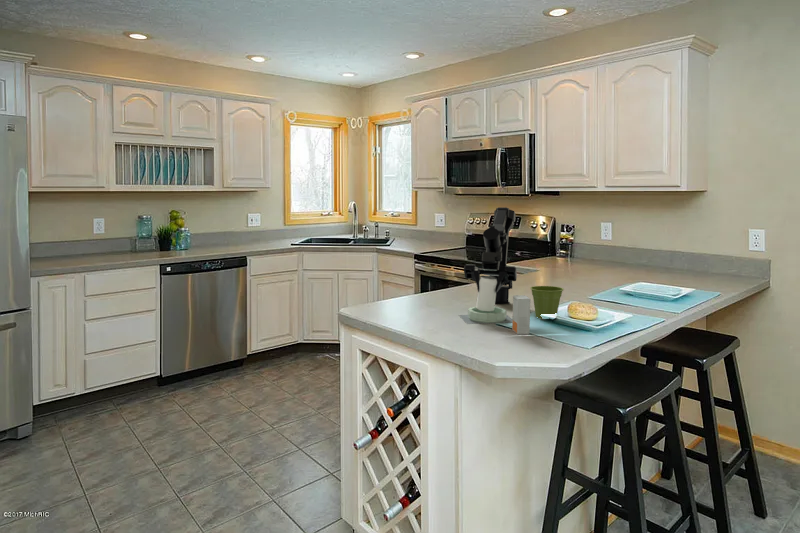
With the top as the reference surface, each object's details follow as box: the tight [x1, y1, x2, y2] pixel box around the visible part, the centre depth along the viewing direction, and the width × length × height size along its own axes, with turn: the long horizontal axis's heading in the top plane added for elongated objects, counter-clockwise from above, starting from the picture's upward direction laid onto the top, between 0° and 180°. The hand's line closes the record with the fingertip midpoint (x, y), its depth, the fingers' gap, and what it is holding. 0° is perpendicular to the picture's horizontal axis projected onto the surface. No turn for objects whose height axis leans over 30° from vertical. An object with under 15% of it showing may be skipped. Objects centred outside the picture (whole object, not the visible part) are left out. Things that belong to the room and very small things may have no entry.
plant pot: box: [529, 285, 565, 320], centre depth 201 cm, size 12×12×11 cm
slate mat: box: [458, 314, 513, 325], centre depth 199 cm, size 18×14×1 cm
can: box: [475, 275, 497, 312], centre depth 199 cm, size 6×6×12 cm
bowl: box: [467, 306, 507, 324], centre depth 199 cm, size 13×13×3 cm
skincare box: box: [511, 294, 531, 336], centre depth 181 cm, size 6×4×12 cm
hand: (487, 291), depth 197 cm, fingers closed on can, 6 cm apart
